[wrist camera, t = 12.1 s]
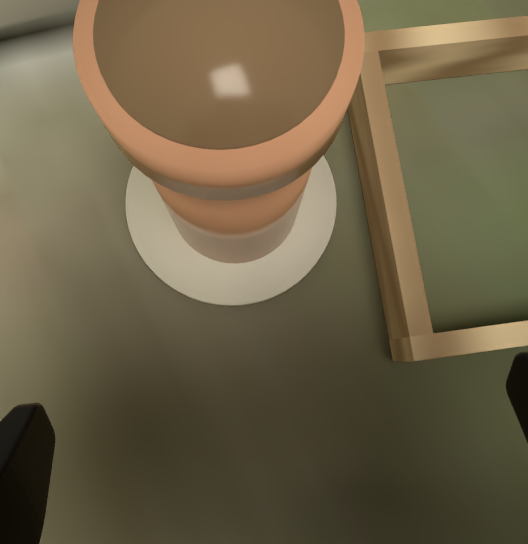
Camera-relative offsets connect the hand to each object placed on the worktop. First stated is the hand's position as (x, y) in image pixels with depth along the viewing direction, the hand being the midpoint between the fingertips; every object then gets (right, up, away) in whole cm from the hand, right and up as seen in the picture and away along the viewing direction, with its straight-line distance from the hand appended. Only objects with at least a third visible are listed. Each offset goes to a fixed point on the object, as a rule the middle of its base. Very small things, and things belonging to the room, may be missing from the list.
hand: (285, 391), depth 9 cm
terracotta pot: (-2, +6, +14) cm, 15 cm away
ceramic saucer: (-2, +6, +15) cm, 16 cm away
